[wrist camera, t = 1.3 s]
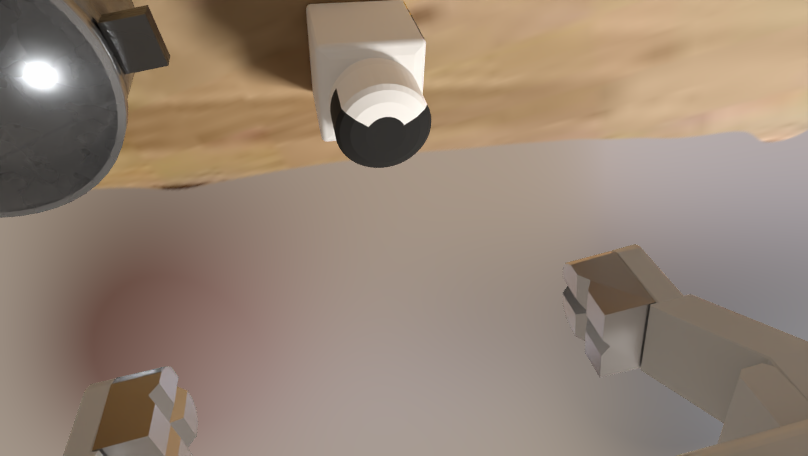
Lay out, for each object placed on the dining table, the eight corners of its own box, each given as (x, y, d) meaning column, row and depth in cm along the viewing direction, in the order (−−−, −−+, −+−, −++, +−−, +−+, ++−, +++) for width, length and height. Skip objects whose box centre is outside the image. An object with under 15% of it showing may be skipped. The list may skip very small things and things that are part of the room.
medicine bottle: (400, 86, 46) (438, 175, 37) (312, 93, 44) (330, 186, 36) (404, -2, 41) (447, 76, 32) (305, 2, 39) (323, 85, 31)
